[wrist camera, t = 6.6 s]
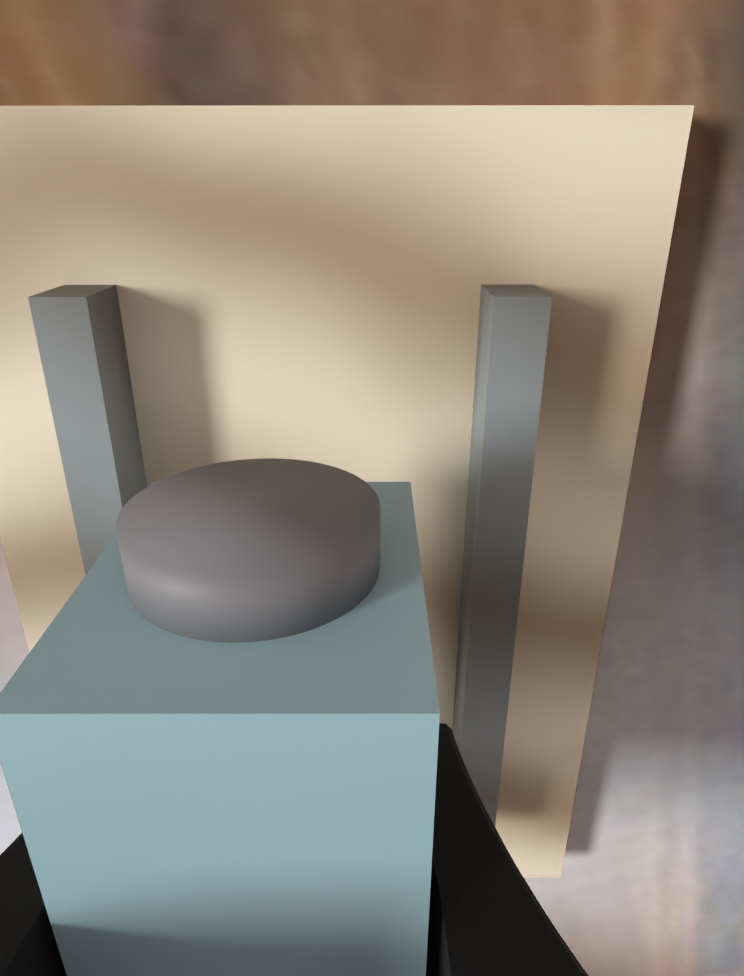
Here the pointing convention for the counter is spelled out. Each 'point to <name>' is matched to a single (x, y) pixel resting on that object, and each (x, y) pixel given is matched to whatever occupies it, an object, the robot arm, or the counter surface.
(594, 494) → the jig board
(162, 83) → the counter surface
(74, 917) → the pale blue tall carton
